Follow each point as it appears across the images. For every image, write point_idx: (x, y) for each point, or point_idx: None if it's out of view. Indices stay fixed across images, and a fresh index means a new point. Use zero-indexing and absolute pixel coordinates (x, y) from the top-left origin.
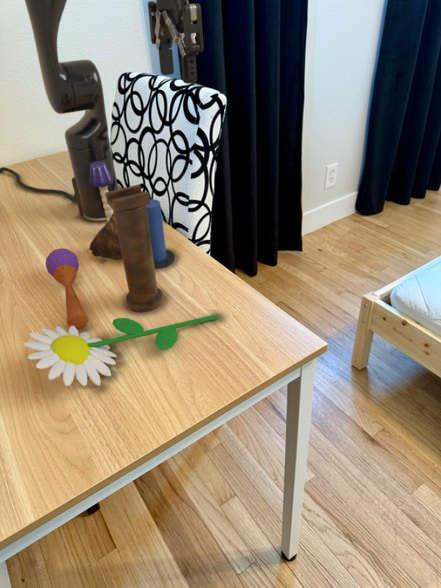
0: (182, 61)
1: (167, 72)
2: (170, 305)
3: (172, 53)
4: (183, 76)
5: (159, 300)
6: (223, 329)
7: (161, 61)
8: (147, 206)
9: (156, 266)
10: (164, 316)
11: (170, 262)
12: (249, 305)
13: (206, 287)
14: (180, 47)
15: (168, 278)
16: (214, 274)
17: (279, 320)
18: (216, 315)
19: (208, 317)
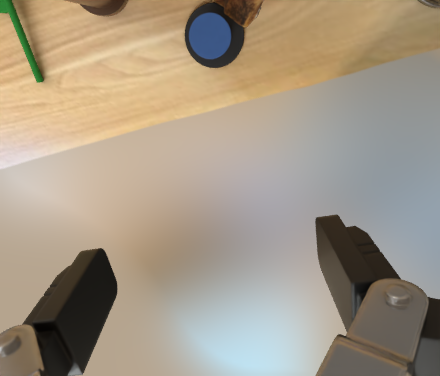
0: (51, 306)
1: (319, 241)
2: (83, 23)
3: (345, 328)
4: (82, 261)
5: (81, 5)
6: (18, 80)
7: (334, 248)
8: (197, 25)
9: (187, 27)
10: (59, 6)
11: (192, 54)
12: (61, 130)
13: (114, 90)
14: (14, 361)
15: (153, 39)
16: (142, 112)
17: (26, 152)
18: (37, 80)
19: (31, 67)
